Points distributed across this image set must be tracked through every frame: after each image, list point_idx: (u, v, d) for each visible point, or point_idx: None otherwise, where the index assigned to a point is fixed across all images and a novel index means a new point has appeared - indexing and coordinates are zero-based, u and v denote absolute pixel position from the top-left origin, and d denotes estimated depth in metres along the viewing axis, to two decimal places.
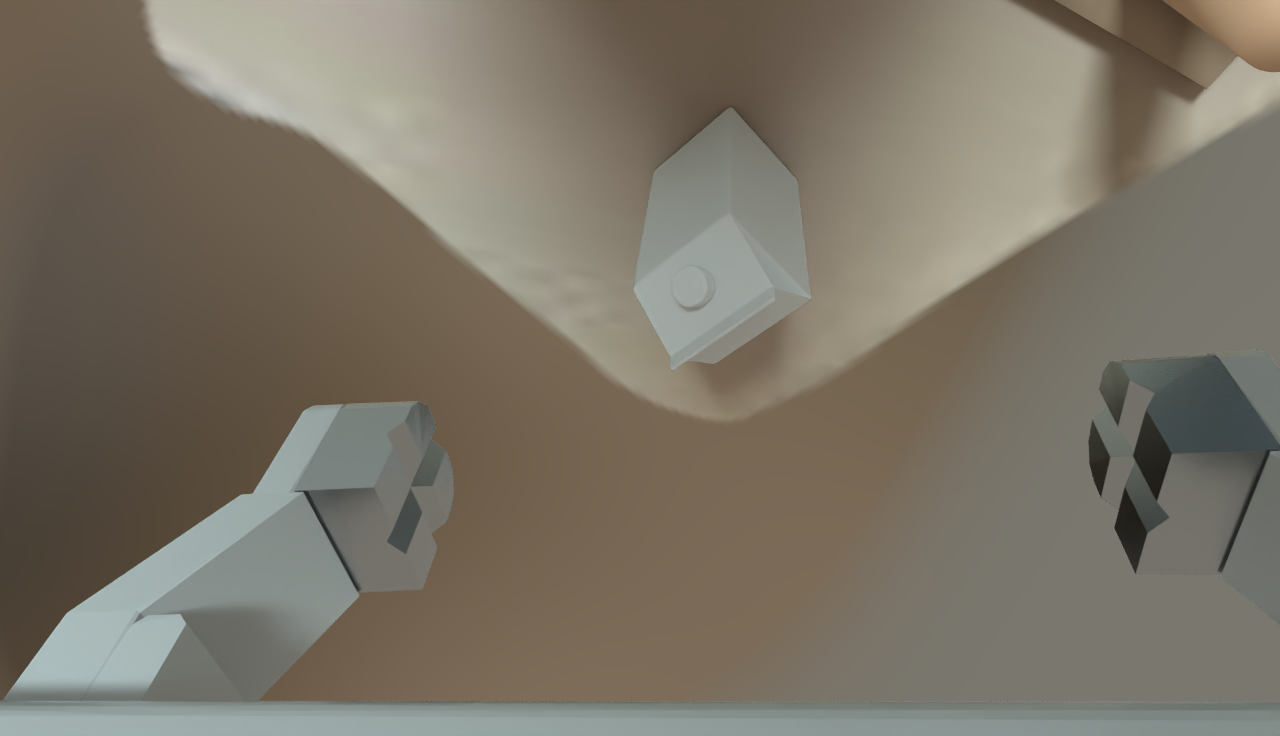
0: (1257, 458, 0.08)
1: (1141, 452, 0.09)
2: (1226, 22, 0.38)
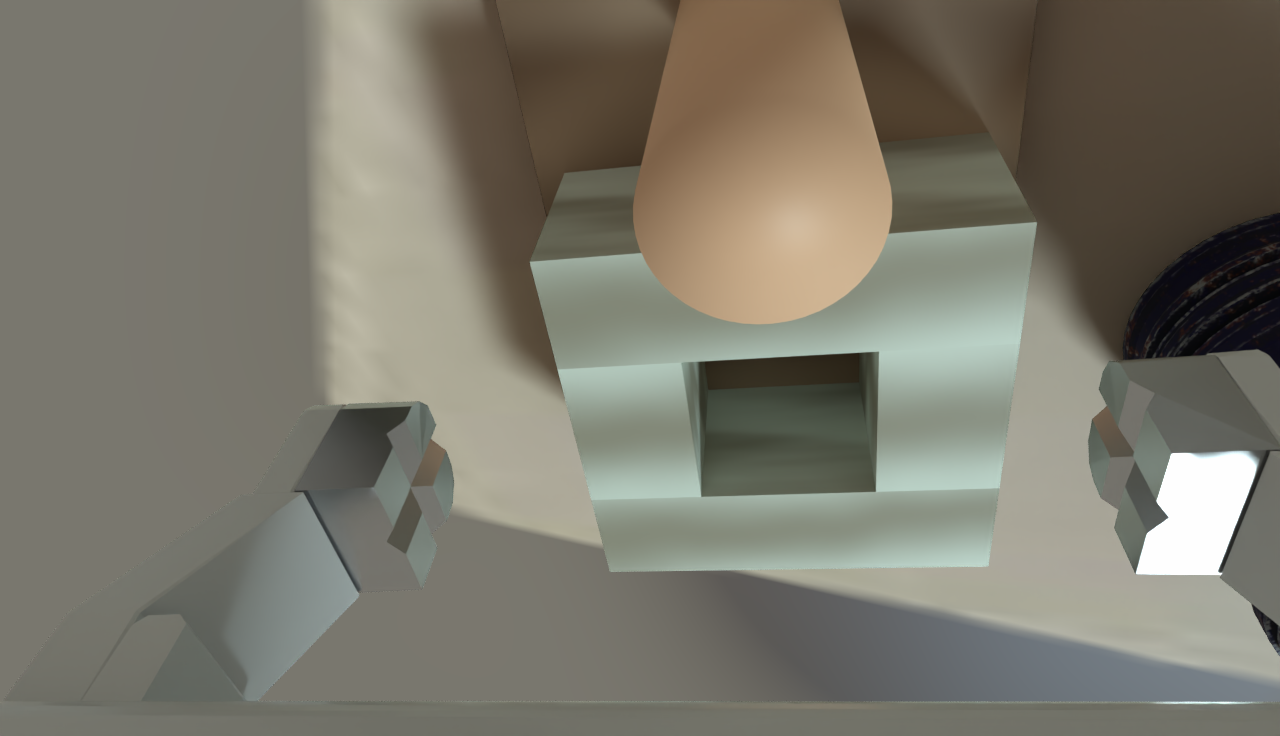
0: (1257, 458, 0.08)
1: (1141, 452, 0.09)
2: (855, 106, 0.15)
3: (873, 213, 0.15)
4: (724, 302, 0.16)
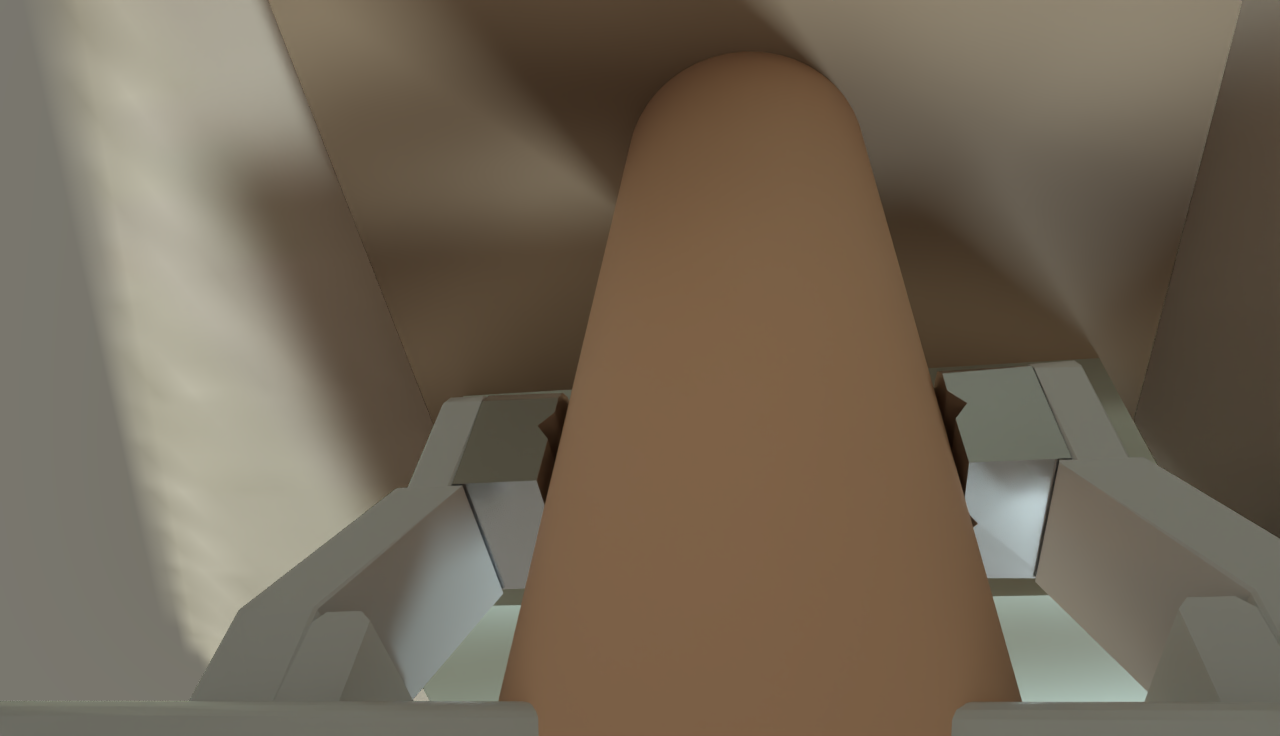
0: (1050, 467, 0.08)
1: (955, 460, 0.09)
2: None
3: None
4: None
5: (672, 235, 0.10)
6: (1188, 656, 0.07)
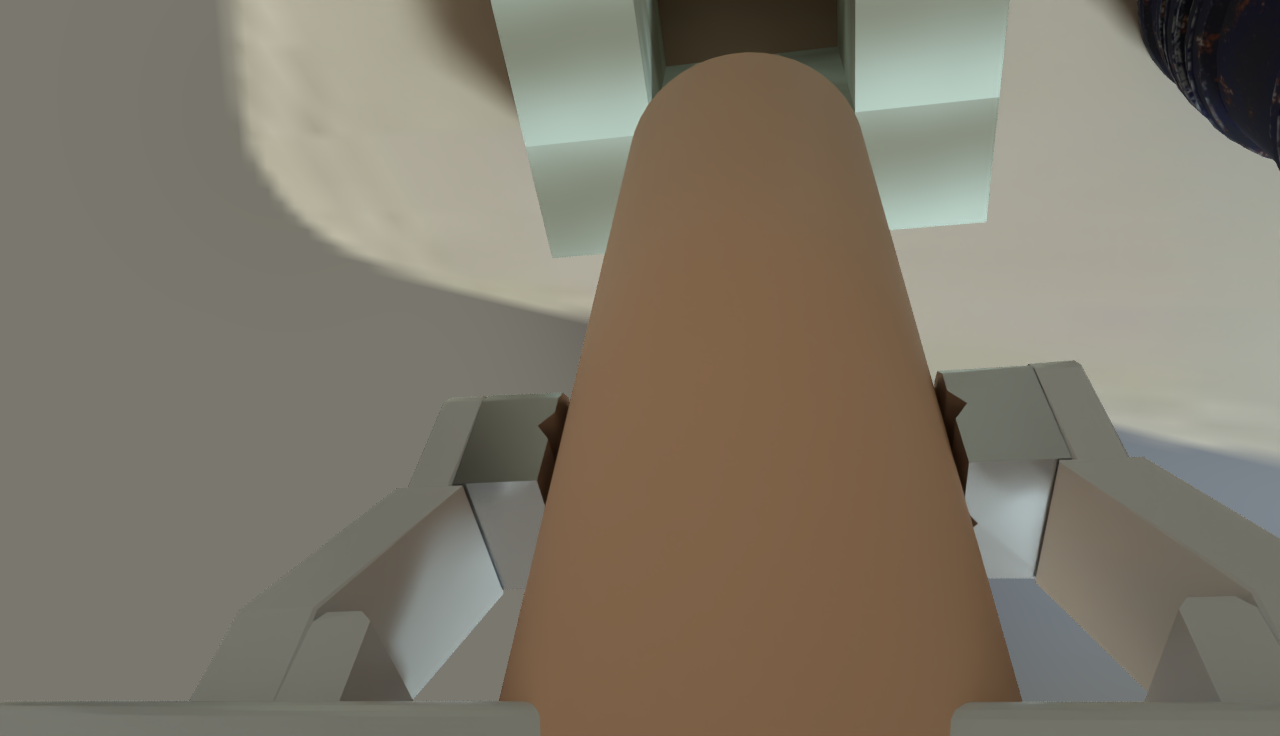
0: (1050, 467, 0.08)
1: (955, 460, 0.09)
2: None
3: None
4: None
5: (673, 236, 0.10)
6: (1188, 656, 0.07)
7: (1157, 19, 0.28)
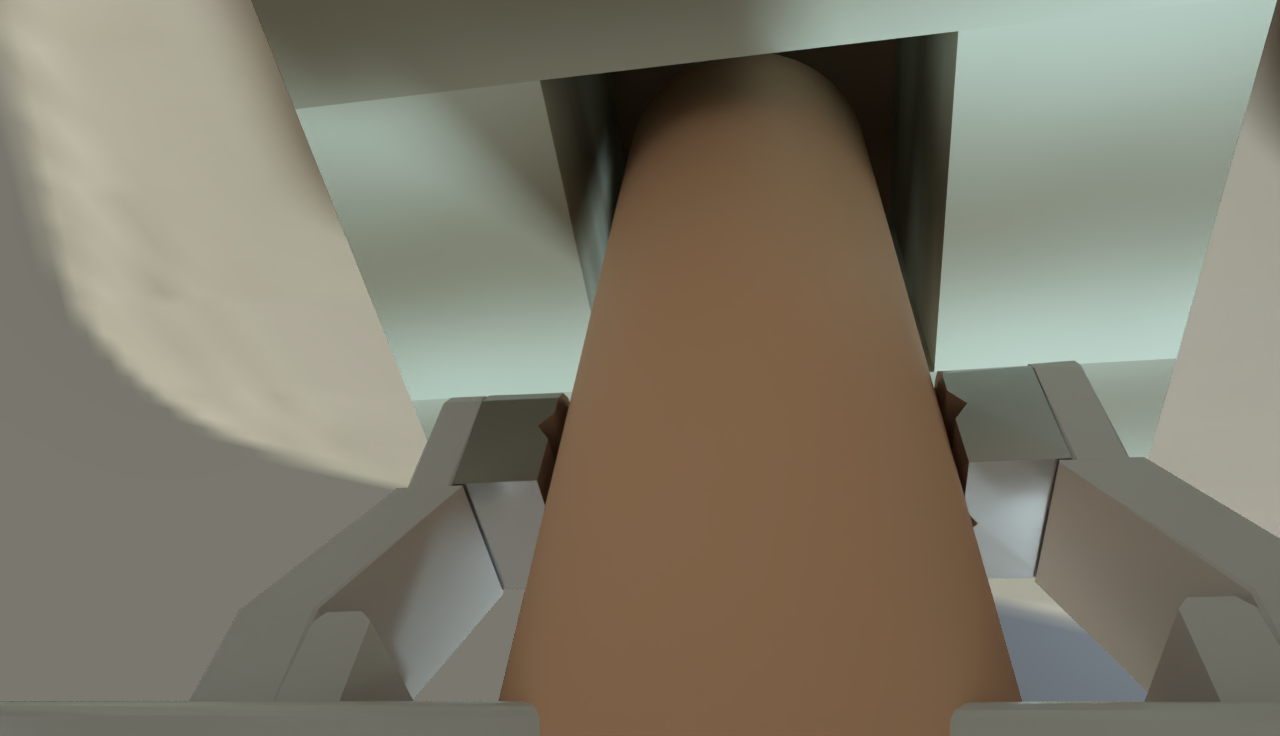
0: (1050, 467, 0.08)
1: (955, 460, 0.09)
2: None
3: None
4: None
5: (673, 236, 0.10)
6: (1188, 656, 0.07)
7: None
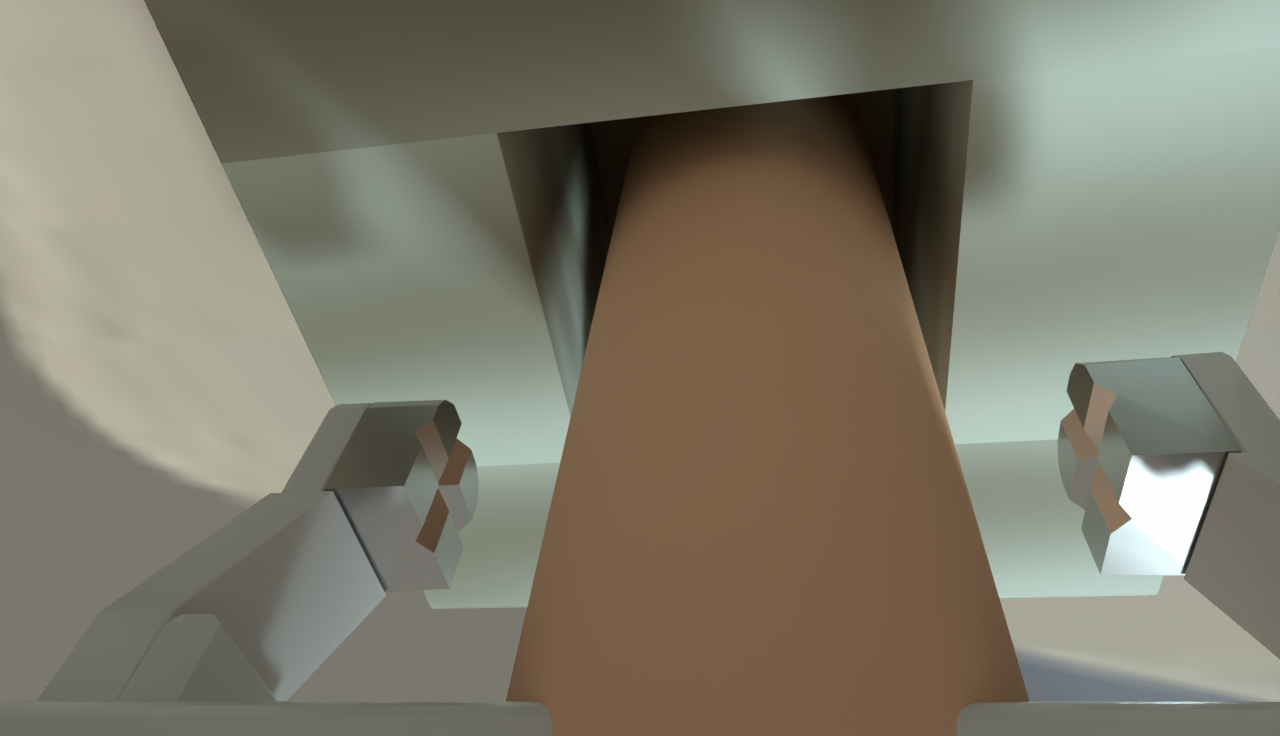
0: (1216, 460, 0.08)
1: (1104, 454, 0.09)
2: (988, 659, 0.06)
3: None
4: None
5: (682, 182, 0.12)
6: None
7: None
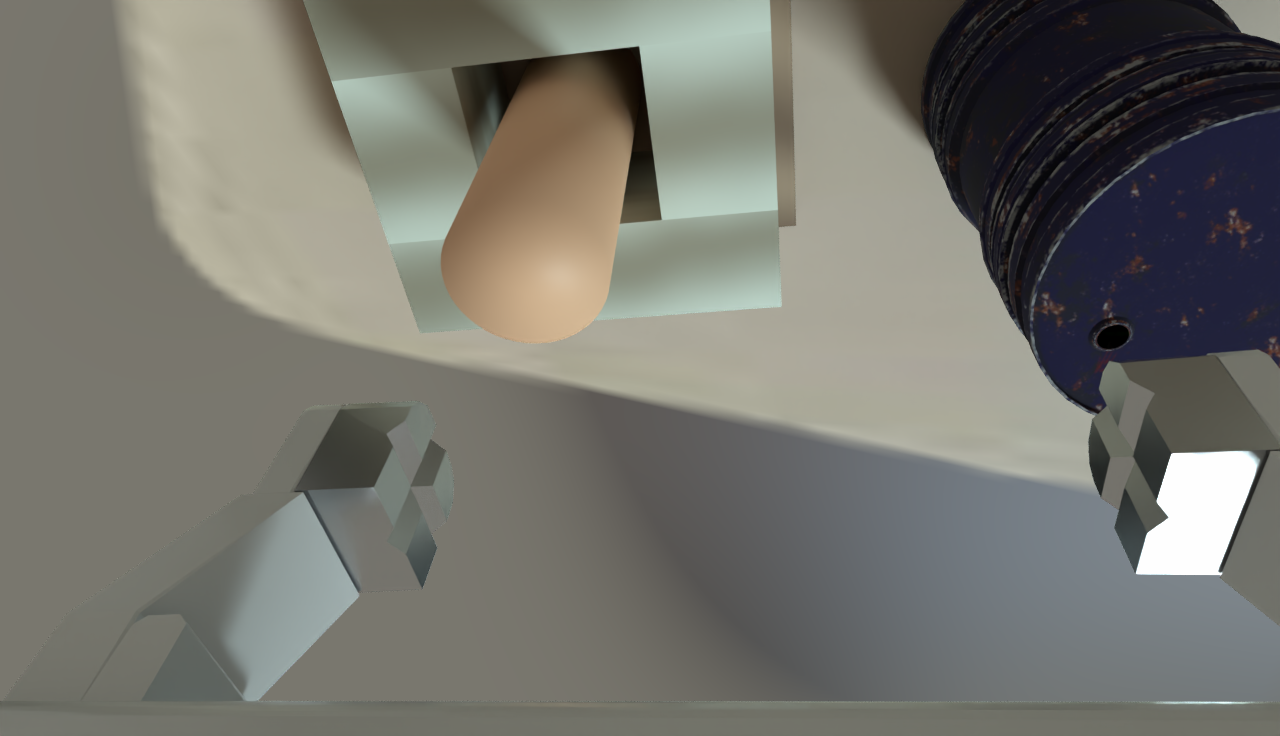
0: (1257, 458, 0.08)
1: (1141, 452, 0.09)
2: (586, 200, 0.22)
3: (597, 271, 0.22)
4: (510, 328, 0.23)
5: (529, 88, 0.27)
6: None
7: (930, 131, 0.33)
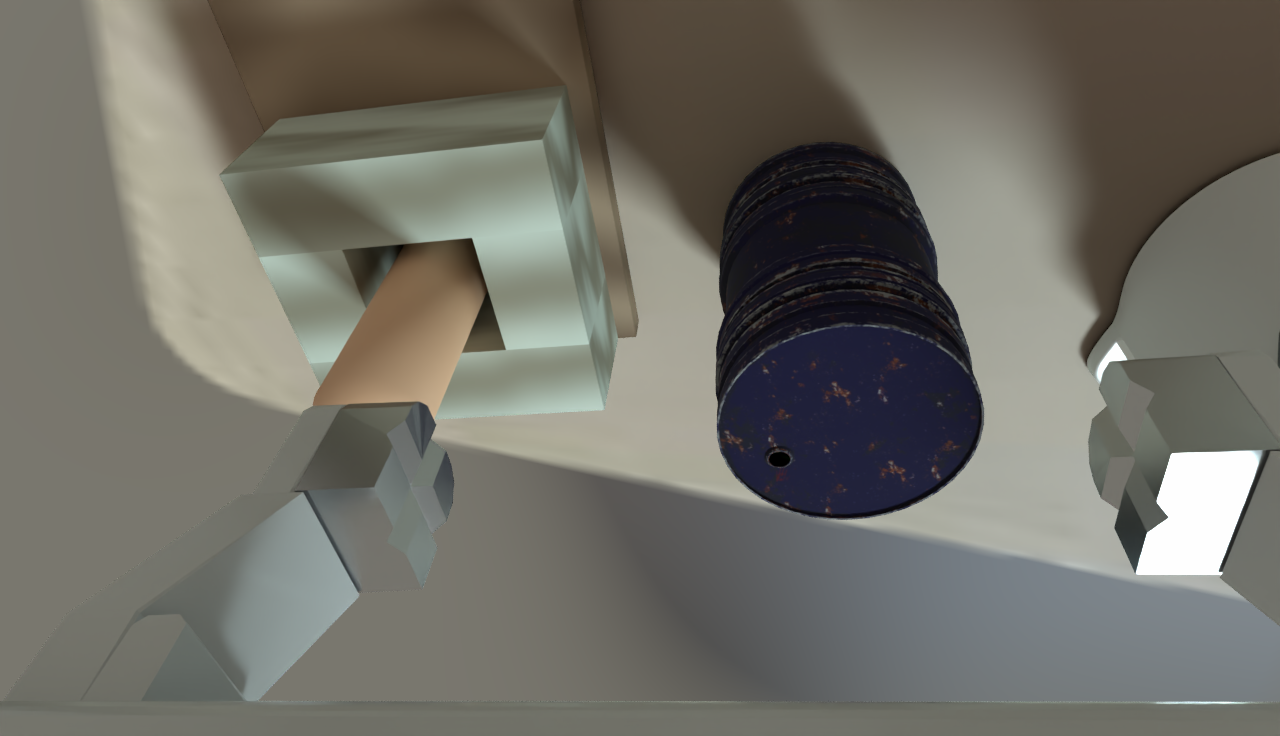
0: (1257, 458, 0.08)
1: (1141, 452, 0.09)
2: (410, 370, 0.33)
3: None
4: None
5: (398, 265, 0.38)
6: None
7: None
